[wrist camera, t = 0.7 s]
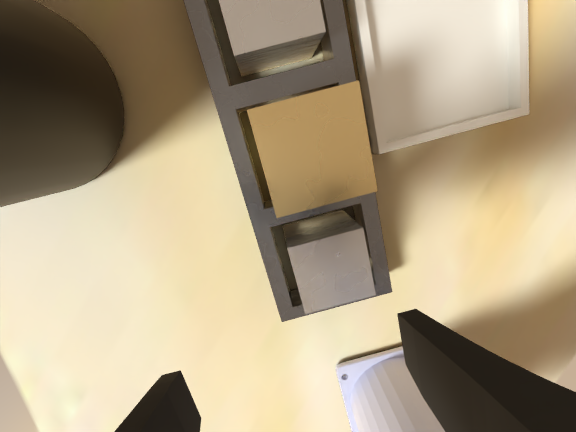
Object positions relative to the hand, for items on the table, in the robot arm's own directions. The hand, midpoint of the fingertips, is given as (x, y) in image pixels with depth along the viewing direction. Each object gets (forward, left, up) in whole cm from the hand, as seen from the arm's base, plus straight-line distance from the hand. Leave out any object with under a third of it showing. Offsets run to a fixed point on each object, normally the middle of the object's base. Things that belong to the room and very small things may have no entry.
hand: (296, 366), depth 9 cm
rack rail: (+6, -3, -10) cm, 12 cm away
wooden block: (+6, -3, -10) cm, 12 cm away
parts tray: (+9, -12, -10) cm, 18 cm away
